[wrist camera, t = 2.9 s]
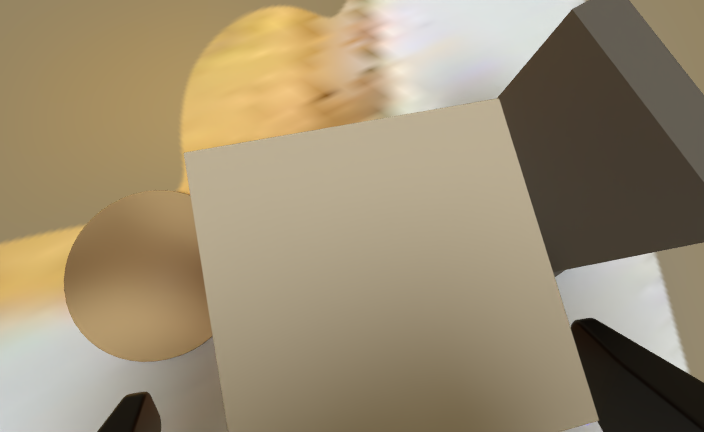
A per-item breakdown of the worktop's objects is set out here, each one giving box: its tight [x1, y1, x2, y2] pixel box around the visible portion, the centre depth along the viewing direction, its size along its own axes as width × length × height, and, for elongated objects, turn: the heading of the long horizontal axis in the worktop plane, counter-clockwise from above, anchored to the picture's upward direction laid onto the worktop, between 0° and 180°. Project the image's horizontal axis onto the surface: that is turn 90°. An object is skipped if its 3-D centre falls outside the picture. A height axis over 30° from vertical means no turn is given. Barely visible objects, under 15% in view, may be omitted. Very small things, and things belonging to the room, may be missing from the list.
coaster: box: [64, 190, 213, 362], centre depth 19 cm, size 7×7×1 cm
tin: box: [184, 98, 599, 432], centre depth 13 cm, size 5×5×13 cm
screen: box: [497, 0, 704, 277], centre depth 17 cm, size 8×3×10 cm, turn 32°
